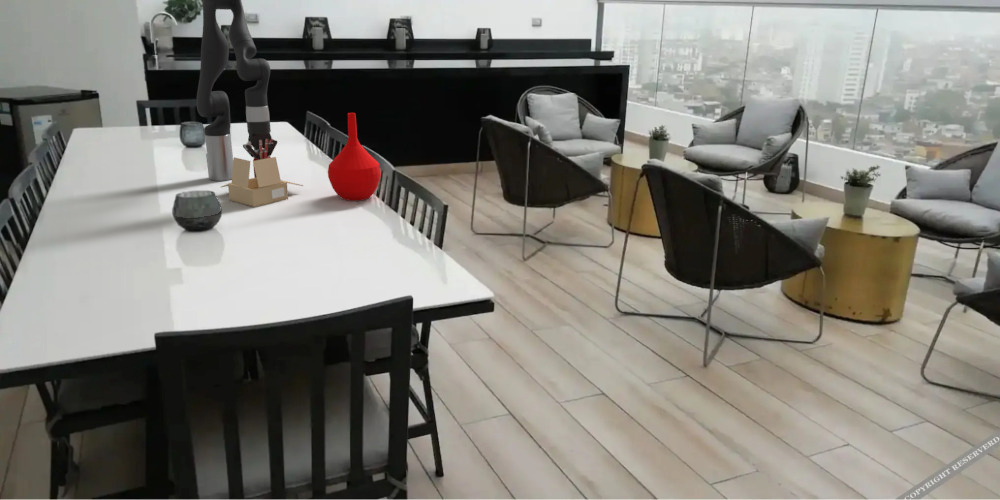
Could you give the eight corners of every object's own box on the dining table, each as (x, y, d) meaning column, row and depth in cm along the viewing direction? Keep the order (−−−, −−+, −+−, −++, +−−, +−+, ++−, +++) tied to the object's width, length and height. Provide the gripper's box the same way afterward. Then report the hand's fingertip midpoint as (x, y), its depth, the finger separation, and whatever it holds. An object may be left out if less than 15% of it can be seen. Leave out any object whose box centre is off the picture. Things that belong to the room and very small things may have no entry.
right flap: (232, 183, 253) (231, 183, 252) (234, 157, 251) (233, 157, 251) (248, 187, 248) (247, 187, 247) (250, 161, 246) (249, 161, 246)
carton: (214, 196, 261) (213, 179, 259) (268, 184, 278) (267, 168, 277) (254, 207, 248) (252, 190, 246) (308, 194, 266) (307, 178, 264)
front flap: (252, 161, 246) (253, 161, 246) (275, 156, 253) (275, 156, 253) (258, 187, 248) (259, 187, 248) (280, 182, 255) (281, 182, 255)
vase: (390, 193, 268) (387, 111, 258) (365, 206, 252) (362, 119, 242) (346, 189, 274) (342, 108, 264) (319, 201, 257) (313, 115, 248)
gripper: (267, 115, 257) (271, 164, 263) (234, 120, 247) (239, 170, 253) (281, 118, 253) (285, 167, 259) (248, 122, 243) (253, 174, 249)
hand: (262, 169), depth 256 cm, fingers closed
